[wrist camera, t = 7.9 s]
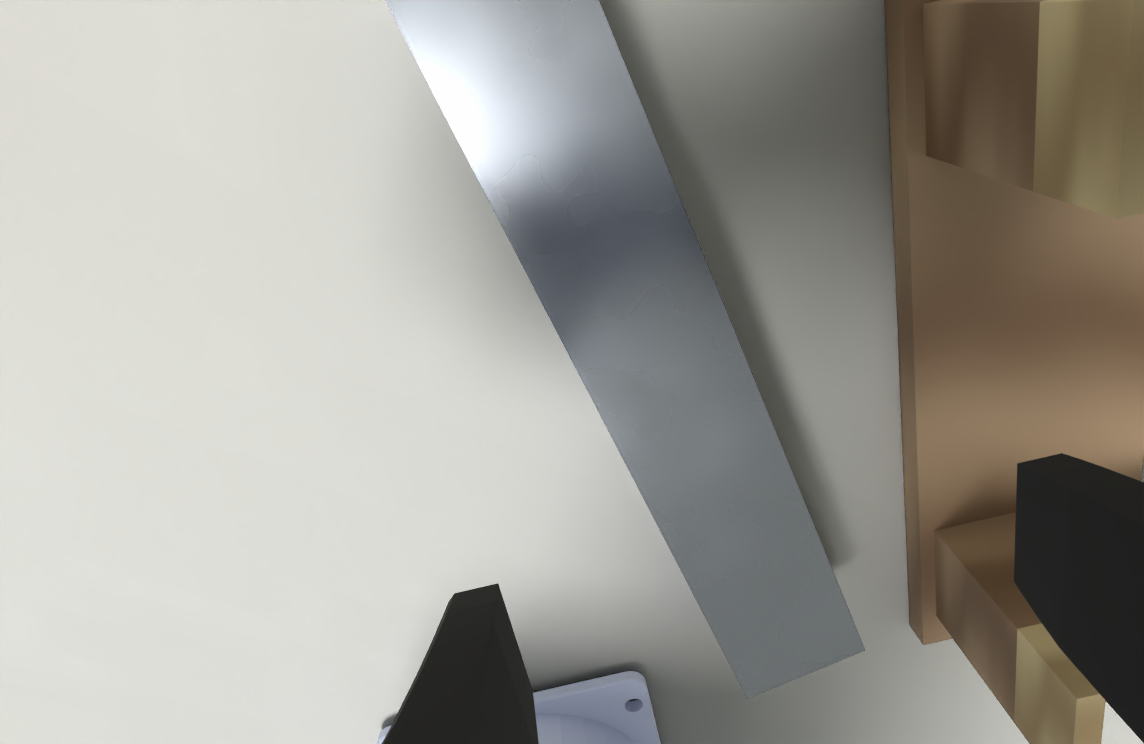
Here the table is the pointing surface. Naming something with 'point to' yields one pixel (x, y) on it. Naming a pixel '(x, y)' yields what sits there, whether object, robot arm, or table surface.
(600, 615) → the table surface
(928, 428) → the rack
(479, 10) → the rail
